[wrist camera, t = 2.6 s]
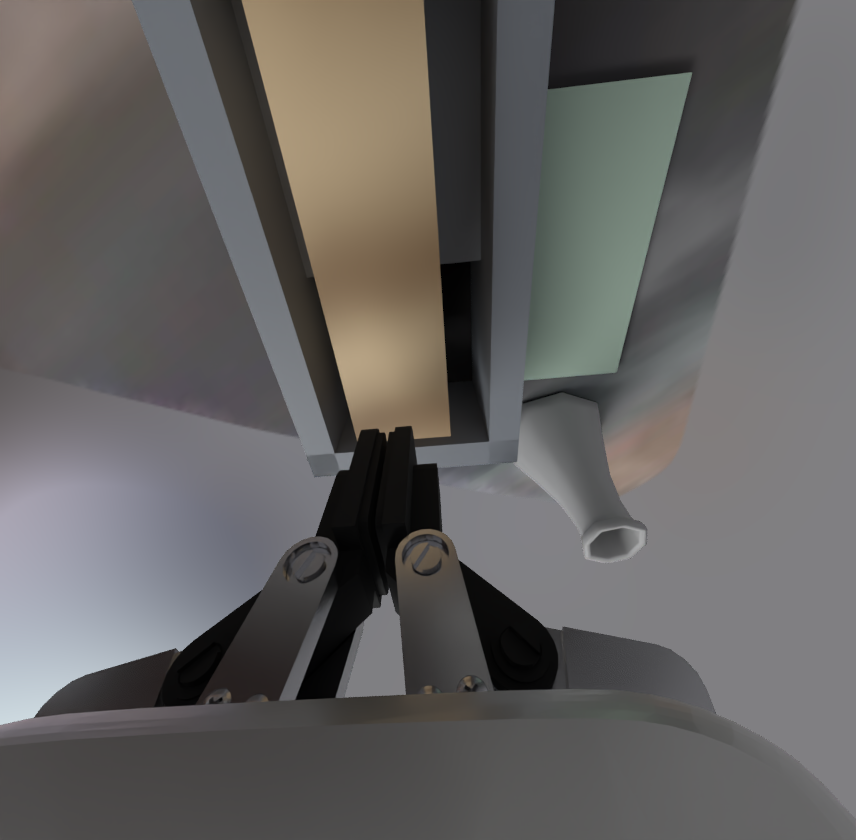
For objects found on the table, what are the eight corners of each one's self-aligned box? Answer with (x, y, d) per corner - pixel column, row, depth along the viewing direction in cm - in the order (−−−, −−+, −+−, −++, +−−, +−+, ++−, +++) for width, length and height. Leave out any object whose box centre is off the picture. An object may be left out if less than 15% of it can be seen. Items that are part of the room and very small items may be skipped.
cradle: (228, 1, 13) (64, -175, 7) (504, -37, 12) (576, -260, 7) (341, 410, 23) (314, 477, 17) (493, 397, 23) (517, 462, 17)
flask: (611, 389, 23) (721, 493, 14) (585, 466, 27) (659, 583, 18) (510, 391, 23) (559, 496, 14) (498, 468, 27) (532, 585, 18)
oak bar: (294, 4, 10) (205, -137, 6) (417, -13, 10) (413, -169, 6) (373, 389, 18) (358, 443, 14) (444, 383, 18) (450, 436, 14)
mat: (500, 98, 14) (503, 94, 14) (683, 77, 14) (692, 72, 14) (493, 379, 22) (495, 382, 22) (612, 368, 22) (616, 372, 21)
